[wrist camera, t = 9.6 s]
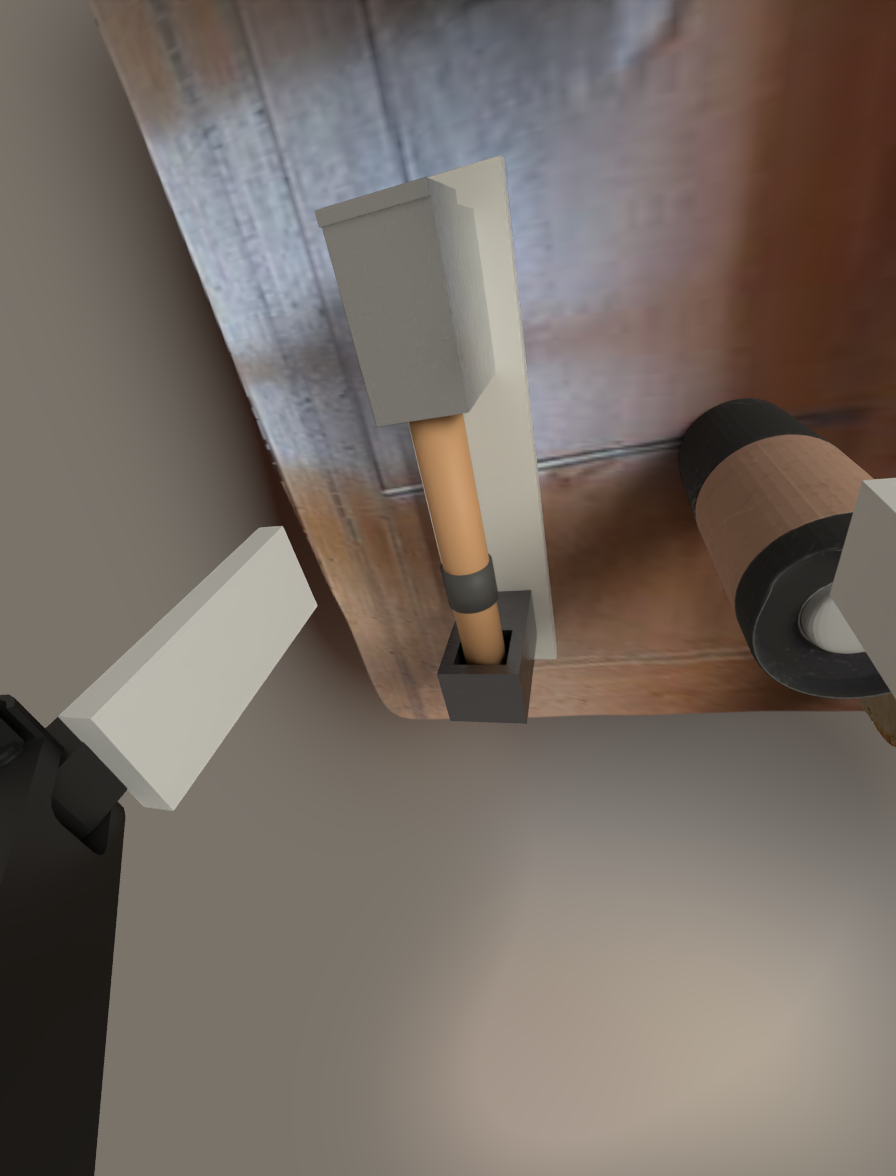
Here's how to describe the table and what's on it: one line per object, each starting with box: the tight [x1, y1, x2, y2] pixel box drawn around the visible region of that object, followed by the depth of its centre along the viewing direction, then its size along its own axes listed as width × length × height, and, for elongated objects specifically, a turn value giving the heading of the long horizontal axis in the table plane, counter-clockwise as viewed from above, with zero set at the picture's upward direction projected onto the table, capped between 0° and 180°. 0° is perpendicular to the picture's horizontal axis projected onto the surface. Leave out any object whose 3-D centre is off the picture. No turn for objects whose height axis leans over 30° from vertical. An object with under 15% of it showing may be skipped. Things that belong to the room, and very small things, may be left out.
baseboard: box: [408, 155, 557, 659], centre depth 39 cm, size 37×9×2 cm, turn 12°
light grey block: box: [315, 177, 496, 427], centre depth 28 cm, size 10×5×10 cm, turn 12°
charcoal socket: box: [437, 590, 537, 723], centre depth 41 cm, size 5×6×10 cm
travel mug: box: [678, 399, 891, 699], centre depth 26 cm, size 8×8×20 cm
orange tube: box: [408, 414, 507, 665], centre depth 34 cm, size 22×4×4 cm, turn 12°
